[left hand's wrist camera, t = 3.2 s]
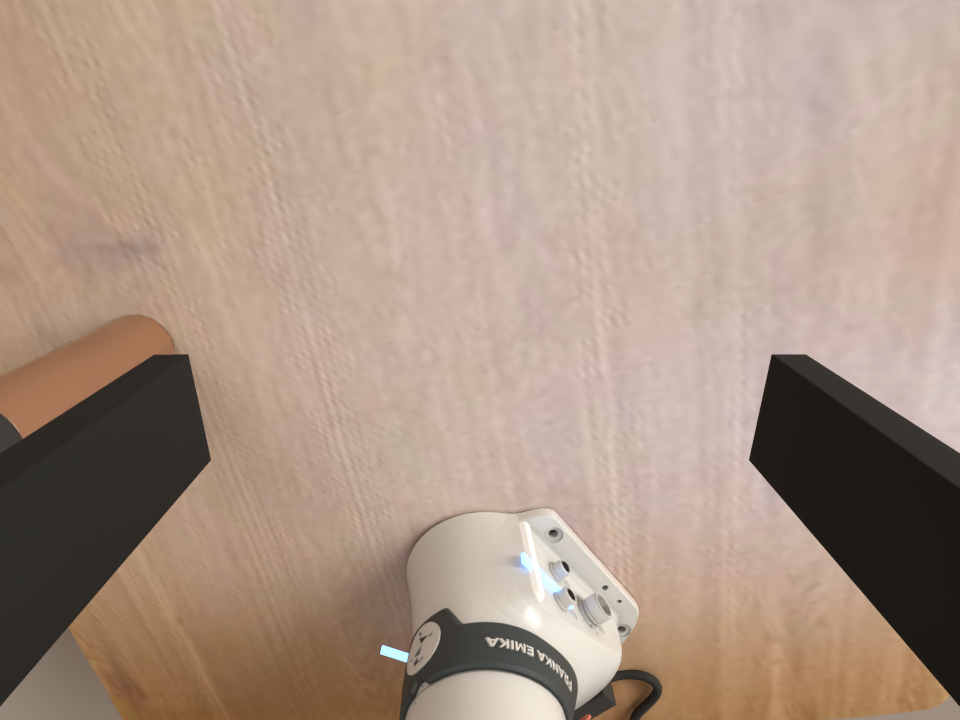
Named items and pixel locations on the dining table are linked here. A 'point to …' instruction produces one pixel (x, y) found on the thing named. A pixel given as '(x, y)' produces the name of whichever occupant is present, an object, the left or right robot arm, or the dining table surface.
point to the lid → (7, 434)
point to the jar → (78, 370)
